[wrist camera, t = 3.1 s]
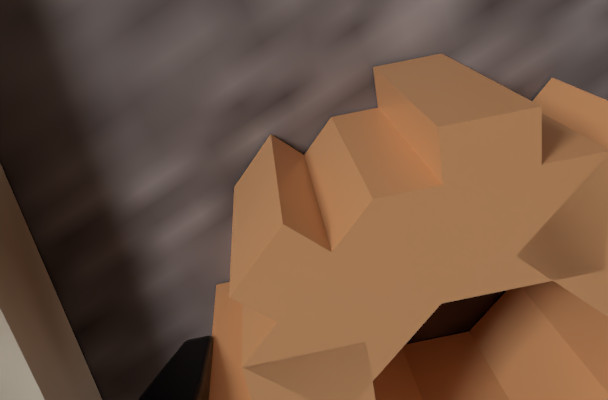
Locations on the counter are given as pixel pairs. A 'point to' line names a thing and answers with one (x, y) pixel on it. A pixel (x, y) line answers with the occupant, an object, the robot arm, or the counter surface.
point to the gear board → (34, 320)
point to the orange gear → (423, 248)
